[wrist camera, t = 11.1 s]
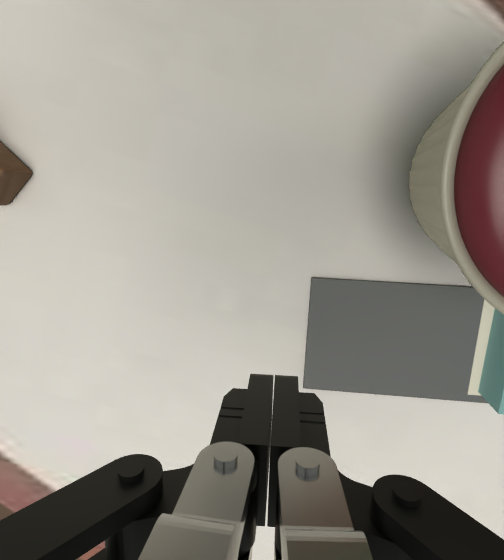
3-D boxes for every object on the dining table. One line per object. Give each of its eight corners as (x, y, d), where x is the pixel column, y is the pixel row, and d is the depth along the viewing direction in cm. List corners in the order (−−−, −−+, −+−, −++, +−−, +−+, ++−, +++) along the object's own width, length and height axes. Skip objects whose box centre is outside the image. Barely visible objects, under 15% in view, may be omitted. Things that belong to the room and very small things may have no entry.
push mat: (311, 277, 39) (311, 278, 39) (621, 295, 37) (624, 296, 37) (303, 386, 42) (303, 388, 42) (592, 409, 40) (595, 411, 40)
